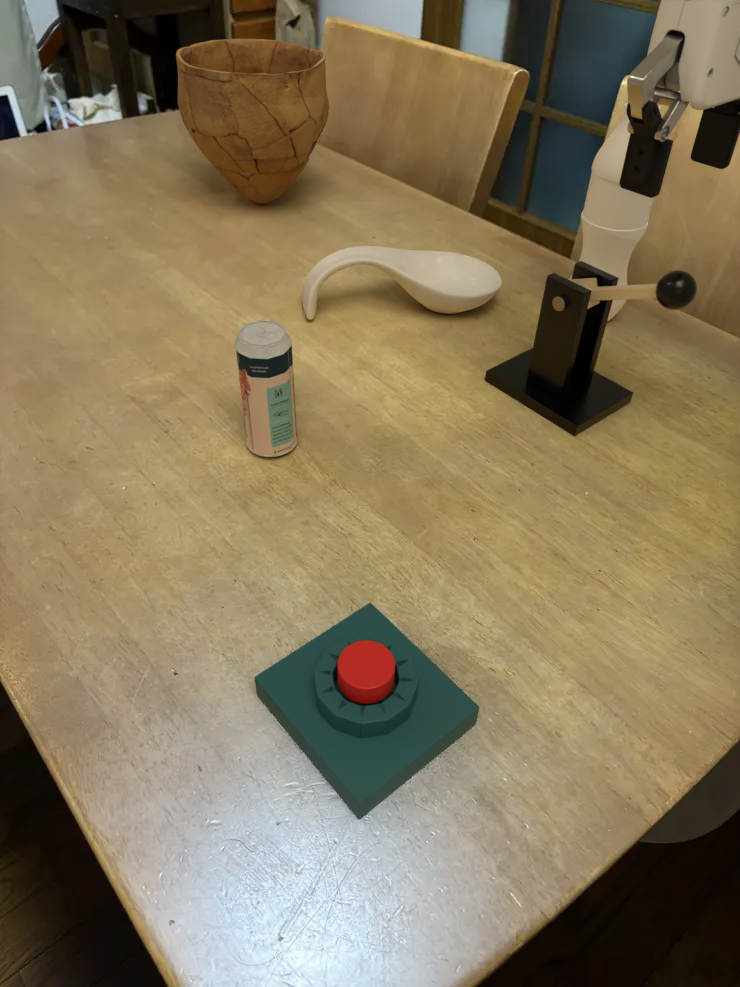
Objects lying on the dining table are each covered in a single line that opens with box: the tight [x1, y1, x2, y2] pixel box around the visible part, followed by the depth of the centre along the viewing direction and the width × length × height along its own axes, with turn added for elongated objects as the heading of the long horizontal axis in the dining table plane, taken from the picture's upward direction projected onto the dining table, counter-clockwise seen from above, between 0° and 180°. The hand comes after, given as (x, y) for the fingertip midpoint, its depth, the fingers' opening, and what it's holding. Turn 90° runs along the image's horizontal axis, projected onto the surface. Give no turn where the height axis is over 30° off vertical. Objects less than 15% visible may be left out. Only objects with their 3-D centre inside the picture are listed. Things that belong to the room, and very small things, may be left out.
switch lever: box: [570, 269, 698, 311], centre depth 66 cm, size 13×3×3 cm, turn 40°
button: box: [337, 640, 395, 704], centre depth 47 cm, size 4×4×2 cm
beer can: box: [234, 320, 298, 458], centre depth 66 cm, size 5×5×12 cm
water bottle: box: [568, 96, 662, 322], centre depth 81 cm, size 7×7×25 cm
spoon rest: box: [301, 245, 503, 321], centre depth 88 cm, size 24×12×7 cm, turn 102°
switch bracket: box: [484, 261, 634, 437], centre depth 73 cm, size 12×9×13 cm
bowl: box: [175, 38, 330, 205], centre depth 105 cm, size 21×20×20 cm
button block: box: [253, 602, 480, 820], centre depth 49 cm, size 11×10×4 cm
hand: (674, 177), depth 59 cm, fingers open, 9 cm apart
